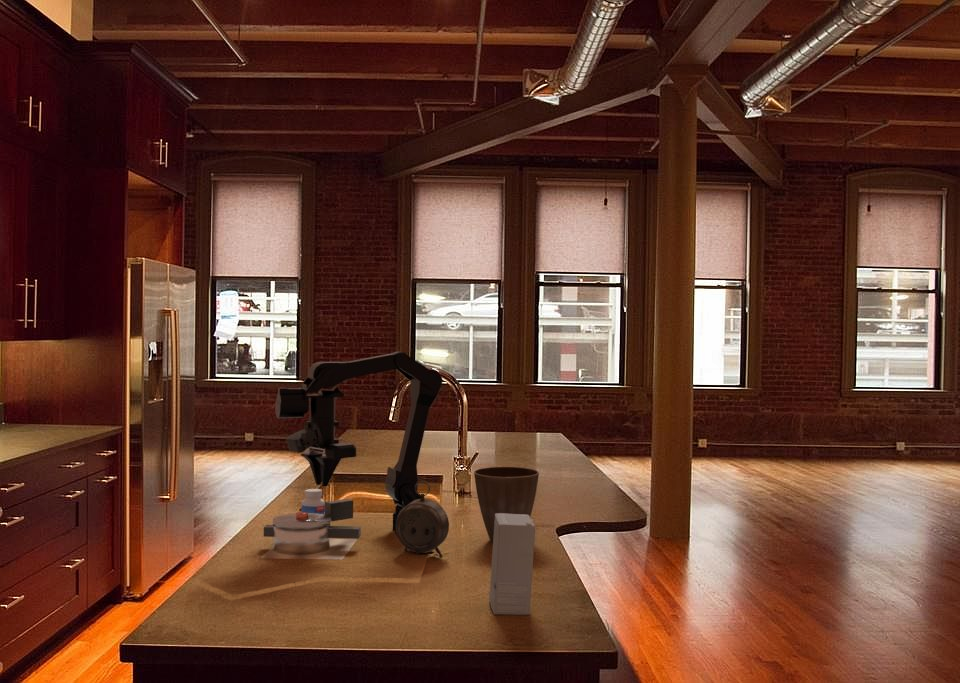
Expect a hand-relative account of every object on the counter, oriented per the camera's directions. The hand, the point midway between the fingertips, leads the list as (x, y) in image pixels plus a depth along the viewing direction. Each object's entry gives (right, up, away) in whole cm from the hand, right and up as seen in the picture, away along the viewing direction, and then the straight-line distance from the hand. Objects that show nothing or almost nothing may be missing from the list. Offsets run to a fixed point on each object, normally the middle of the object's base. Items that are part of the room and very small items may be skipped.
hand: (321, 485), depth 202 cm
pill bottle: (-4, -13, +9) cm, 16 cm away
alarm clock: (+24, -13, -13) cm, 30 cm away
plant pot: (+42, -13, +2) cm, 44 cm away
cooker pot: (0, -12, -11) cm, 16 cm away
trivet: (0, -13, -11) cm, 16 cm away
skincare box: (+42, -14, -48) cm, 65 cm away
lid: (0, -7, -8) cm, 11 cm away
